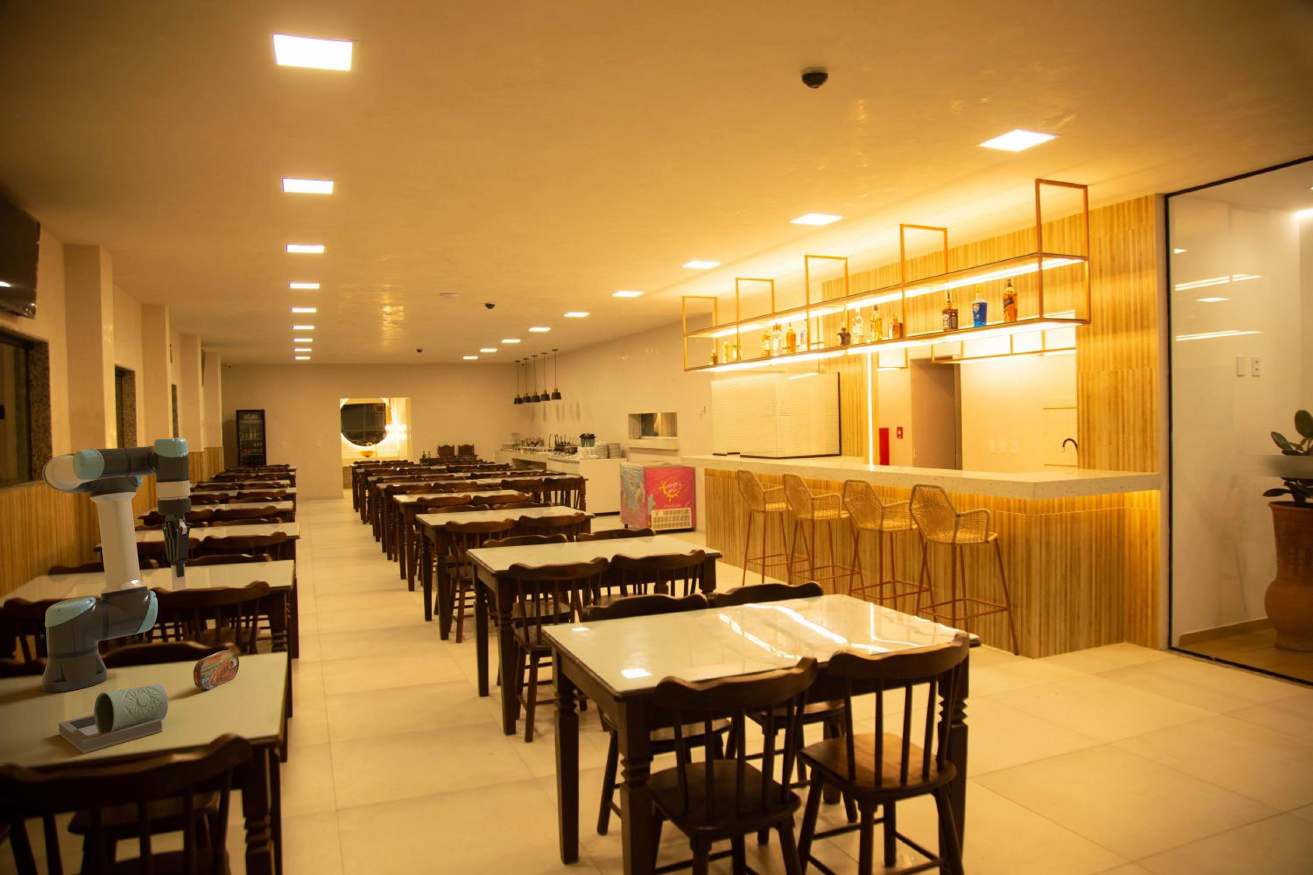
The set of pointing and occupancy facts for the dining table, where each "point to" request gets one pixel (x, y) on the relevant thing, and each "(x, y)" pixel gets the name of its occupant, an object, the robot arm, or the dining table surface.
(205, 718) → the dining table surface
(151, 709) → the green embossed cup
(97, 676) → the robot arm
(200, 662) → the tin
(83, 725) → the shallow rectangular tray
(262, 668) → the dining table surface
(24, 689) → the dining table surface
